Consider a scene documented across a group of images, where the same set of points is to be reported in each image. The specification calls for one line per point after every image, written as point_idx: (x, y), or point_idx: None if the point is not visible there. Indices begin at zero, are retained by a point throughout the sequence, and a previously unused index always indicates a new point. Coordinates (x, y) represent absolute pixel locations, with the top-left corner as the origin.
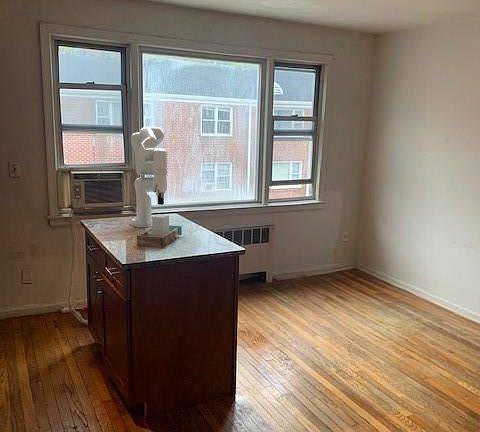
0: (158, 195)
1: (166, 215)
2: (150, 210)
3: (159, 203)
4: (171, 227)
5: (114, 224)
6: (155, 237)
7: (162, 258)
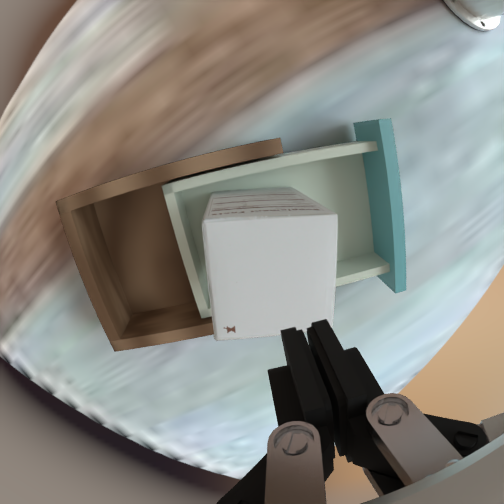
0: (254, 497)
1: (312, 319)
2: None
3: (288, 363)
4: (387, 229)
5: None
6: (97, 313)
7: (45, 378)
